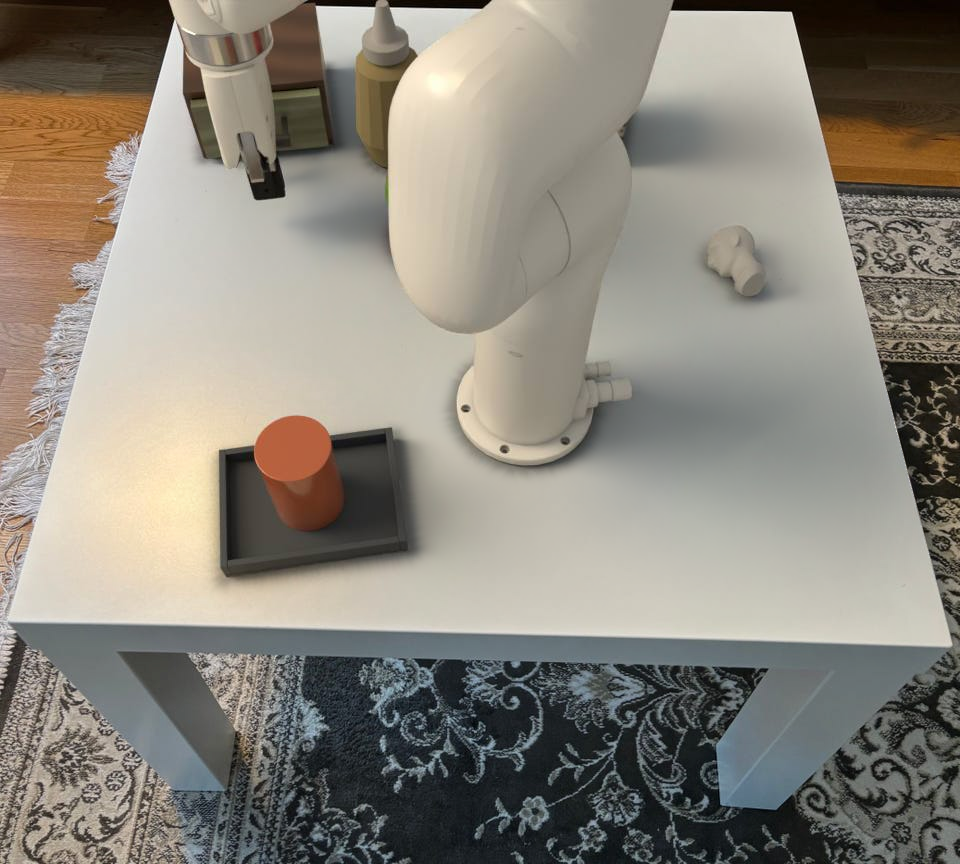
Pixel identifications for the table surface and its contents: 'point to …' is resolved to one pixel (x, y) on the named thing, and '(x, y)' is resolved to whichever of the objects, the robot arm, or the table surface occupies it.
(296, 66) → the cabinet
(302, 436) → the copper cylinder
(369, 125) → the squeeze bottle
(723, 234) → the pale two-lobed sculpture
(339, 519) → the tray
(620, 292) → the table surface
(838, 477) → the table surface
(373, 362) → the table surface
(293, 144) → the drawer
